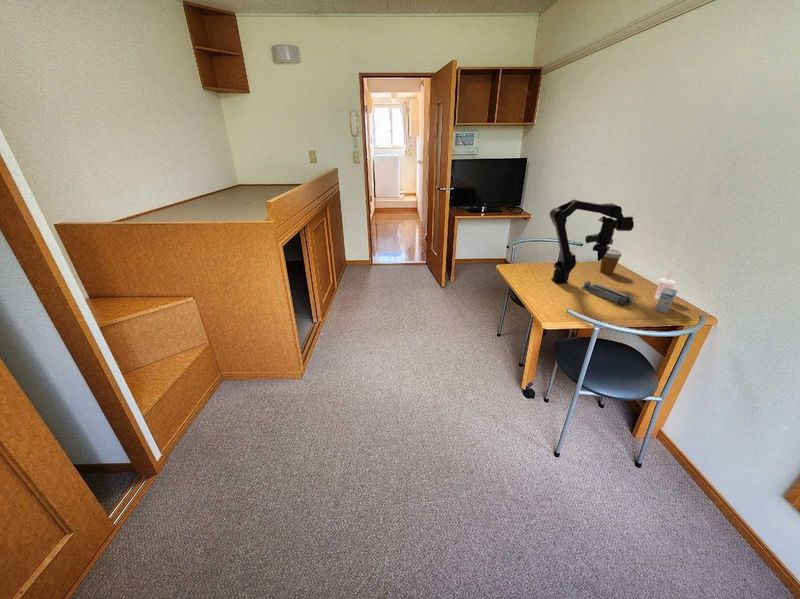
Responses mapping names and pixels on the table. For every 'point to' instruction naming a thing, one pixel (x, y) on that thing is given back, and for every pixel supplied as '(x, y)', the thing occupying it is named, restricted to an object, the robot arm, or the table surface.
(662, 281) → the beverage cup
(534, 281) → the table surface
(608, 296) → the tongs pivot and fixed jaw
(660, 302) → the medicine box
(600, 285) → the bar
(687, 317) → the table surface
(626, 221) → the robot arm
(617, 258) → the disposable coffee cup
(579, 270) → the table surface
